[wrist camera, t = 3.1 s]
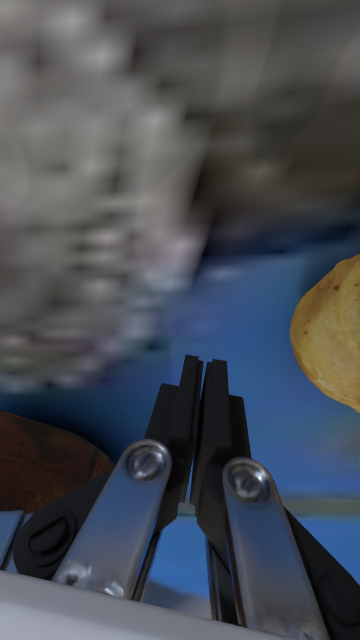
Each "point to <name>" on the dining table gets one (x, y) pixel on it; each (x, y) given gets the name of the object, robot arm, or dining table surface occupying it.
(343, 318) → the bread roll
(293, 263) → the dining table surface
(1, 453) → the jug
